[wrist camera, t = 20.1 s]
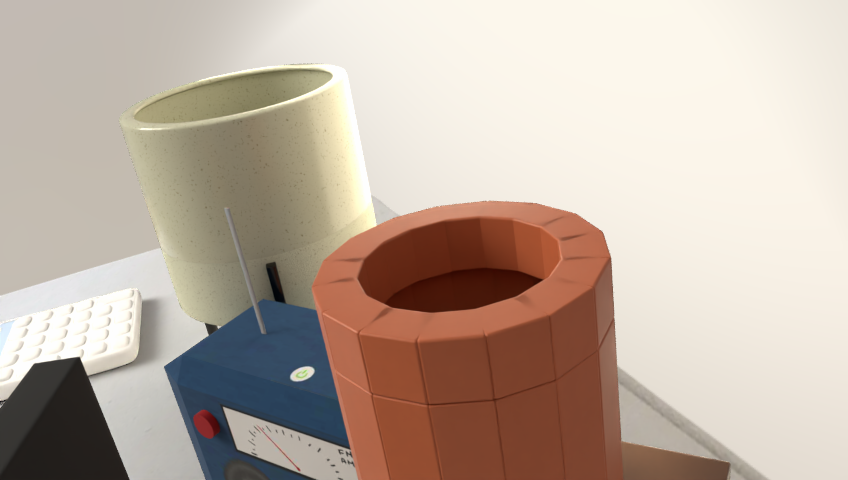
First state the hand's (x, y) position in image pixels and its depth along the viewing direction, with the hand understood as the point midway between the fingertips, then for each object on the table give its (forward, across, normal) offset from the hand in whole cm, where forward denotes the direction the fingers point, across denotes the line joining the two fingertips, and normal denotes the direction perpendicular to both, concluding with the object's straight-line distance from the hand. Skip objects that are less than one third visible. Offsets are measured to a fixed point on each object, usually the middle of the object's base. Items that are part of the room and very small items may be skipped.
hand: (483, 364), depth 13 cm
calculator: (+50, -39, -26) cm, 68 cm away
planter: (+40, -12, -26) cm, 50 cm away
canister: (+10, 0, -15) cm, 18 cm away
